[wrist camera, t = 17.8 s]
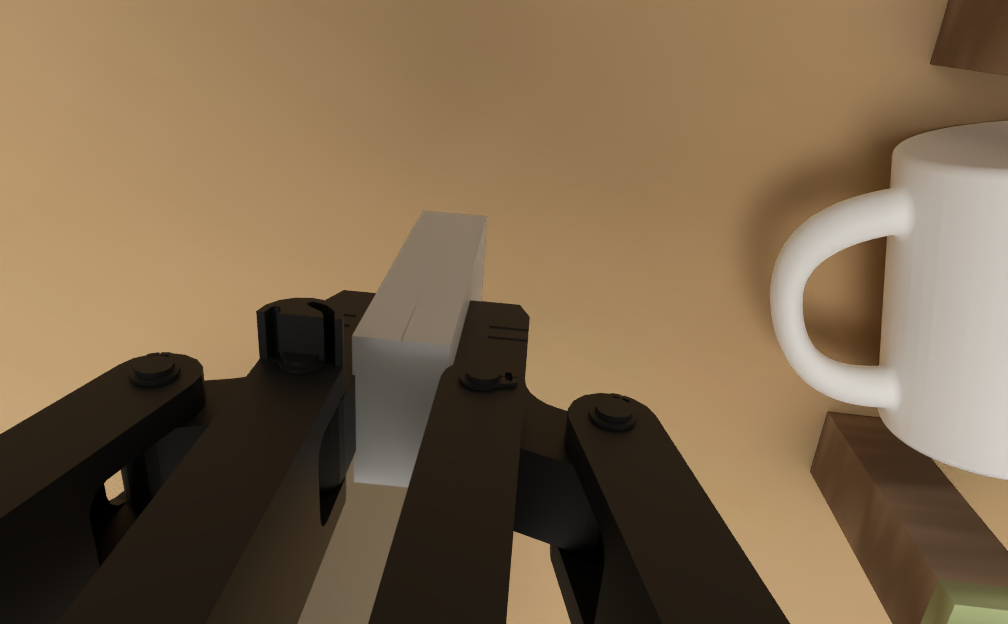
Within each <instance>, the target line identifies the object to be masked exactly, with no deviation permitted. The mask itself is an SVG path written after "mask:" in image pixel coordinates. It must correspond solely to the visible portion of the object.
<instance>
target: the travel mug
mask: <svg viewBox="0 0 1008 624" xmlns="http://www.w3.org/2000/svg"><path fill="white" fill-rule="evenodd" d="M406 493H407V487H398V486H388V485H378V484H368V483H358V482H354V461H353V459H352V461H351V464H350V466H349V469H348V471H347V473H346V502H345V505H344V507H343V510H342V512H341V515H340V517H339V520H338V522H337V525H336V527H335V530H334V532H333V535H332V537H331V540H330V543H329V545H328V548H327V550H326V553H325V555H324V558H323V560H322V563H321V565H320V568H319V570H318V573H317V575H316V578H315V580H314V583H313V586H312V588H311V591H310V593H309V596H308V598H307V601H306V603H305V606H304V608H303V611H302V613H301V616H300V618H299V621H298V623H297V624H368V622H369V619H370V615H371V612H372V609H373V605H374V602H375V598H376V595H377V592H378V588H379V585H380V581H381V578H382V574H383V571H384V568H385V564H386V561H387V557H388V554H389V551H390V547H391V544H392V540H393V537H394V534H395V530H396V527H397V523H398V520H399V517H400V513H401V510H402V506H403V503H404V500H405V496H406Z"/></svg>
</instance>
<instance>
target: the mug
mask: <svg viewBox="0 0 1008 624" xmlns="http://www.w3.org/2000/svg"><path fill="white" fill-rule="evenodd" d="M884 236H887V246H886V262H885V279H884V295H883V311H882V327H881V343H880V359H879V365H878V366H863V365H853V364H847V363H842V362H838V361H835V360H833V359H830V358H828V357H826V356H825V355H823V354H822V353H820V352H819V351H818V350H817V349H816V348H815V347H814V345H813V344H812V342H811V341H810V339H809V337H808V334H807V331H806V328H805V324H804V317H803V292H804V288H805V285H806V282H807V280H808V278H809V276H810V275H811V273H812V272H813V271H814V270H815V268H816V267H817V266H818V265H819V264H821V263H822V262H823V261H824V260H826V259H827V258H828V257H830V256H832V255H833V254H835V253H837V252H839V251H841V250H843V249H845V248H848V247H850V246H853V245H855V244H858V243H861V242H865V241H868V240H871V239H876V238H880V237H884ZM770 307H771V316H772V322H773V326H774V330H775V334H776V337H777V340H778V343H779V345H780V347H781V350H782V352H783V354H784V356H785V357H786V359H787V361H788V362H789V364H790V365H791V367H792V368H793V369H794V370H795V372H796V373H797V374H798V375H799V376H800V377H801V378H802V379H803V380H804V381H805V382H806V383H807V384H809V385H810V386H811V387H813V388H814V389H816V390H817V391H819V392H821V393H822V394H824V395H826V396H828V397H831V398H833V399H836V400H839V401H842V402H845V403H850V404H854V405H860V406H868V407H877V409H878V412H879V415H880V417H881V419H882V421H883V422H884V424H885V425H886V427H887V428H888V429H889V430H890V431H891V432H892V433H893V434H894V435H895V436H896V437H897V438H899V439H900V440H901V441H903V442H904V443H905V444H907V445H908V446H910V447H911V448H913V449H915V450H917V451H918V452H920V453H922V454H924V455H926V456H928V457H930V458H932V459H935V460H937V461H939V462H942V463H944V464H947V465H950V466H952V467H955V468H959V469H962V470H965V471H968V472H972V473H976V474H980V475H984V476H988V477H993V478H999V479H1004V480H1008V121H996V122H985V123H976V124H968V125H961V126H954V127H949V128H943V129H938V130H933V131H929V132H925V133H922V134H919V135H916V136H913V137H910V138H908V139H906V140H904V141H902V142H901V143H900V144H898V145H897V146H896V147H895V149H894V151H893V153H892V166H891V182H890V189H885V190H879V191H874V192H870V193H866V194H862V195H858V196H855V197H852V198H849V199H846V200H843V201H840V202H838V203H835V204H833V205H831V206H829V207H827V208H825V209H823V210H821V211H819V212H817V213H816V214H814V215H813V216H811V217H810V218H808V219H807V220H806V221H805V222H803V223H802V224H801V225H800V226H799V227H798V228H797V229H796V230H795V231H794V232H793V233H792V234H791V235H790V237H789V238H788V239H787V241H786V242H785V244H784V245H783V247H782V249H781V251H780V252H779V255H778V257H777V259H776V262H775V265H774V268H773V272H772V278H771V286H770Z"/></svg>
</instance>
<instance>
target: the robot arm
mask: <svg viewBox="0 0 1008 624" xmlns="http://www.w3.org/2000/svg"><path fill="white" fill-rule="evenodd" d="M486 227H487V216H478V215H467V214H456V213H445V212H434V211H422V213H421V215H420V217H419V218H418V220H417V222H416V224H415V226H414V227H413V229H412V231H411V233H410V234H409V236H408V238H407V240H406V241H405V243H404V245H403V247H402V248H401V250H400V252H399V254H398V256H397V257H396V259H395V261H394V263H393V264H392V266H391V268H390V270H389V271H388V273H387V275H386V277H385V278H384V280H383V282H382V284H381V286H380V287H379V289H378V291H377V293H368V292H358V291H347V290H343V291H341V292H340V293H338V294H336V295H334V296H332V297H330V298H328V299H326V301H325V300H320V299H315V298H291V299H284V300H278V301H275V302H272V303H269V304H266V305H265V306H263V307H262V308H260V309H259V310H257V311H256V313H257V327H258V340H259V354H260V359H259V361H258V362H257V363H256V365H255V366H254V367H253V368H252V370H251V371H250V372H249V374H248V375H247V376H246V377H241V378H234V379H221V380H207V381H204V373H203V366H202V365H201V364H200V363H199V361H198V360H197V359H194V358H192V357H189V356H187V355H182V354H174V353H170V352H161V354H159V353H150V354H147V355H146V356H141V357H137V358H133V359H131V360H129V361H126V362H124V363H122V364H119V365H118V366H116V367H114V368H112V369H111V370H109V371H107V372H106V373H104V374H102V375H101V376H99V377H97V378H95V379H94V380H92V381H90V382H89V383H87V384H85V385H83V386H82V387H80V388H78V389H77V390H75V391H73V392H72V393H70V394H68V395H66V396H65V397H63V398H61V399H60V400H58V401H56V402H55V403H53V404H51V405H49V406H48V407H46V408H44V409H43V410H41V411H39V412H38V413H36V414H34V415H32V416H31V417H29V418H27V419H26V420H24V421H22V422H20V423H19V424H17V425H15V426H14V427H12V428H10V429H9V430H7V431H5V432H3V433H2V434H0V624H297V623H298V621H299V618H300V616H301V613H302V611H303V608H304V606H305V603H306V601H307V598H308V596H309V593H310V591H311V588H312V586H313V583H314V580H315V578H316V575H317V573H318V570H319V568H320V565H321V563H322V560H323V558H324V555H325V553H326V550H327V548H328V545H329V543H330V540H331V537H332V535H333V532H334V530H335V527H336V525H337V522H338V520H339V517H340V515H341V512H342V510H343V507H344V505H345V502H346V473H347V471H348V469H349V466H350V464H351V461H352V459H353V461H354V482H358V483H368V484H378V485H388V486H398V487H407V488H408V489H407V493H406V496H405V500H404V503H403V506H402V510H401V513H400V517H399V520H398V523H397V527H396V530H395V534H394V537H393V540H392V544H391V547H390V551H389V554H388V557H387V561H386V564H385V568H384V571H383V574H382V578H381V581H380V585H379V588H378V592H377V595H376V598H375V602H374V605H373V609H372V612H371V615H370V619H369V622H368V624H506V617H507V604H508V592H509V579H510V567H511V555H512V542H513V531H515V532H518V533H521V534H524V535H526V536H529V537H532V538H535V539H537V540H540V541H543V542H546V543H548V544H550V558H551V561H552V565H553V568H554V571H555V574H556V577H557V580H558V584H559V587H560V590H561V593H562V596H563V599H564V603H565V606H566V609H567V612H568V615H569V618H570V622H571V624H790V623H789V621H788V620H787V618H786V616H785V615H784V613H783V612H782V610H781V609H780V607H779V606H778V604H777V603H776V601H775V599H774V598H773V596H772V595H771V593H770V592H769V590H768V589H767V587H766V585H765V584H764V582H763V581H762V579H761V578H760V576H759V575H758V573H757V572H756V570H755V568H754V567H753V565H752V564H751V562H750V561H749V559H748V558H747V556H746V555H745V553H744V551H743V550H742V548H741V547H740V545H739V544H738V542H737V541H736V539H735V537H734V536H733V534H732V533H731V531H730V530H729V528H728V527H727V525H726V524H725V522H724V520H723V519H722V517H721V516H720V514H719V513H718V511H717V510H716V508H715V507H714V505H713V503H712V502H711V500H710V499H709V497H708V496H707V494H706V493H705V491H704V489H703V488H702V486H701V485H700V483H699V482H698V480H697V479H696V477H695V476H694V474H693V472H692V471H691V469H690V468H689V466H688V465H687V463H686V462H685V460H684V459H683V457H682V455H681V454H680V452H679V451H678V449H677V448H676V446H675V445H674V443H673V442H672V440H671V438H670V437H669V435H668V434H667V432H666V431H665V429H664V428H663V426H662V424H661V423H660V421H659V420H658V418H657V417H656V415H655V414H654V413H653V412H652V411H651V410H650V409H649V408H648V407H647V406H645V405H643V404H641V403H640V402H638V401H636V400H634V399H632V398H629V397H626V396H621V395H619V394H614V393H611V394H606V393H597V394H590V395H584V396H582V397H580V398H578V399H576V400H574V401H573V402H572V404H571V405H570V407H569V408H568V411H566V410H562V409H559V408H556V407H553V406H551V405H548V404H546V403H544V402H542V401H540V400H539V399H537V398H536V397H535V396H534V395H532V394H531V393H530V392H529V390H528V388H527V387H526V383H525V371H526V358H527V345H528V331H529V319H530V317H529V316H528V314H527V313H526V312H525V311H524V309H523V308H522V307H521V306H520V305H515V304H504V303H494V302H483V301H481V300H482V285H483V271H484V256H485V242H486ZM119 470H121V474H122V479H123V485H124V491H123V492H122V493H121V494H119V495H118V496H117V497H116V498H114V499H112V500H110V501H109V500H108V499H107V497H106V492H105V486H104V483H105V482H106V480H107V479H109V478H110V477H111V476H113V475H114V474H115V473H117V472H118V471H119Z"/></svg>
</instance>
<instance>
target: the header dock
mask: <svg viewBox="0 0 1008 624" xmlns="http://www.w3.org/2000/svg"><path fill="white" fill-rule="evenodd" d="M930 64H933V65H939V66H946V67H953V68H960V69H966V70H973V71H980V72H986V73H993V74H1000V75H1007V76H1008V0H949V2H948V6H947V9H946V12H945V16H944V19H943V23H942V26H941V29H940V33H939V36H938V39H937V43H936V46H935V50H934V53H933V56H932V60H931V63H930ZM810 472H811V474H812V476H813V478H814V480H815V481H816V483H817V485H818V487H819V489H820V491H821V493H822V494H823V496H824V498H825V500H826V502H827V504H828V506H829V507H830V509H831V511H832V513H833V515H834V517H835V518H836V520H837V522H838V524H839V526H840V528H841V530H842V531H843V533H844V535H845V537H846V539H847V541H848V542H849V544H850V546H851V548H852V550H853V552H854V554H855V555H856V557H857V559H858V561H859V563H860V565H861V567H862V568H863V570H864V572H865V574H866V576H867V578H868V579H869V581H870V583H871V585H872V587H873V589H874V591H875V592H876V594H877V596H878V598H879V600H880V602H881V604H882V605H883V607H884V609H885V611H886V613H887V615H888V616H889V618H890V620H891V622H892V624H1008V551H1007V550H1006V548H1005V547H1004V546H1003V545H1002V543H1001V542H1000V541H999V540H998V539H997V537H996V536H995V535H994V534H993V533H992V531H991V530H990V529H989V528H988V527H987V525H986V524H985V523H984V522H983V520H982V519H981V518H980V517H979V516H978V514H977V513H976V512H975V511H974V510H973V508H972V507H971V506H970V505H969V504H968V502H967V501H966V500H965V499H964V497H963V496H962V495H961V494H960V493H959V491H958V490H957V489H956V488H955V487H954V485H953V484H952V483H951V482H950V481H949V479H948V478H947V477H946V476H945V474H944V473H943V472H942V471H941V470H940V468H939V467H938V466H937V465H936V464H935V462H934V461H933V460H932V459H931V458H930V457H928V456H926V455H924V454H922V453H920V452H918V451H917V450H915V449H913V448H911V447H910V446H908V445H907V444H905V443H904V442H903V441H901V440H900V439H899V438H897V437H896V436H895V435H894V434H893V433H892V432H891V431H890V430H889V429H888V428H887V427H886V425H885V424H884V422H883V421H882V419H881V418H876V417H867V416H858V415H849V414H840V413H831V412H828V413H827V416H826V420H825V423H824V426H823V430H822V433H821V436H820V440H819V443H818V447H817V450H816V453H815V457H814V460H813V464H812V467H811V470H810Z"/></svg>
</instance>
